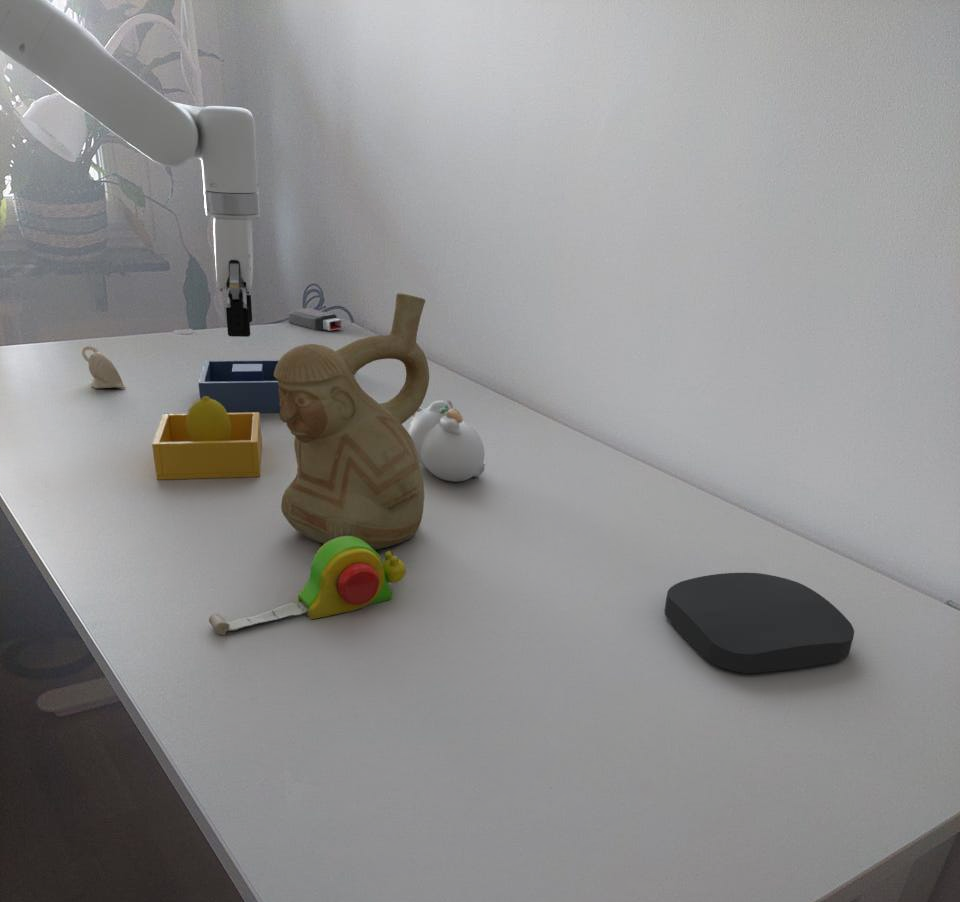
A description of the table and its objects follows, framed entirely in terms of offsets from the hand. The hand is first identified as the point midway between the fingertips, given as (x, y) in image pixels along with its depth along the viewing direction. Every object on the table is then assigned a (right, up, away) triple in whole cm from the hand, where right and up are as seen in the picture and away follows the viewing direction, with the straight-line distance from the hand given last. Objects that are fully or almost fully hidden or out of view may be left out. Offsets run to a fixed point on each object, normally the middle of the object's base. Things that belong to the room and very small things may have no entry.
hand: (240, 328), depth 146 cm
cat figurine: (+31, -25, -19) cm, 45 cm away
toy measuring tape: (+20, -44, -53) cm, 72 cm away
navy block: (0, -9, +5) cm, 10 cm away
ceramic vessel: (+23, -35, -37) cm, 56 cm away
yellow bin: (+1, -24, -19) cm, 30 cm away
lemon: (+1, -23, -19) cm, 30 cm away
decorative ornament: (-24, -6, +10) cm, 27 cm away
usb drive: (+3, +17, +53) cm, 56 cm away
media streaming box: (+62, -47, -54) cm, 95 cm away
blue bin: (0, -9, +6) cm, 11 cm away
